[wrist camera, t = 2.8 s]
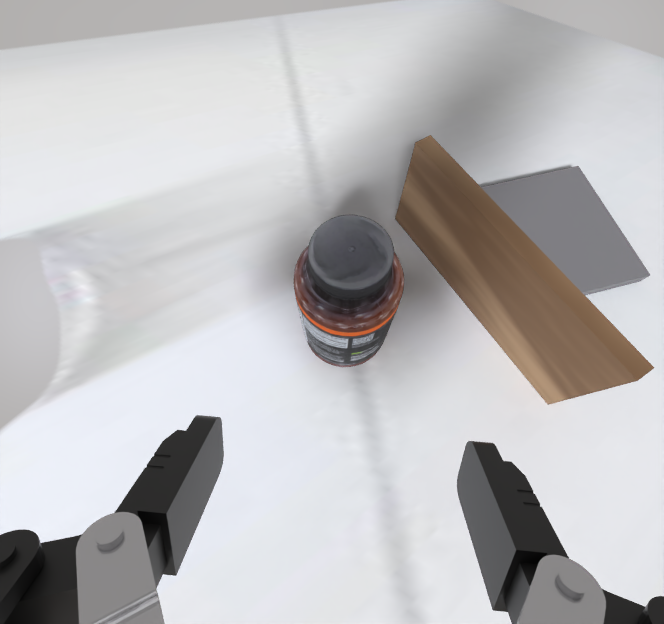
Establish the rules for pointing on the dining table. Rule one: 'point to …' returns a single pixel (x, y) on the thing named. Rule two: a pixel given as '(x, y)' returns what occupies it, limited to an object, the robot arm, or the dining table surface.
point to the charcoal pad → (571, 228)
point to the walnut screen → (511, 283)
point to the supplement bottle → (348, 289)
